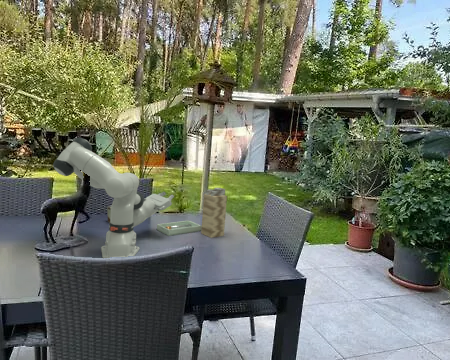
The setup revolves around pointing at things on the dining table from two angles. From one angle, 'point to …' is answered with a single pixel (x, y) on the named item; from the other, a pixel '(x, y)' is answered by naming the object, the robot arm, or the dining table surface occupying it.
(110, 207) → the food container
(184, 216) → the dining table surface
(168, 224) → the pin tray
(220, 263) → the dining table surface
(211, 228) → the pin post
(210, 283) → the dining table surface
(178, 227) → the stop pin
